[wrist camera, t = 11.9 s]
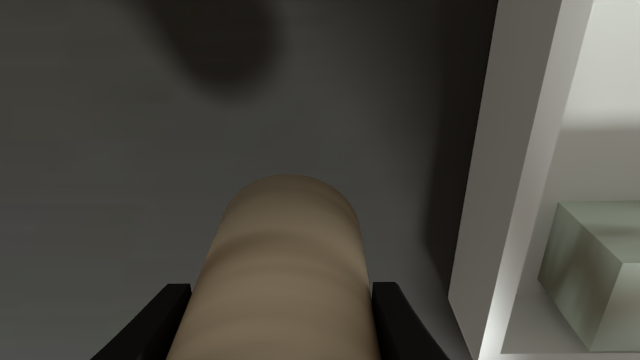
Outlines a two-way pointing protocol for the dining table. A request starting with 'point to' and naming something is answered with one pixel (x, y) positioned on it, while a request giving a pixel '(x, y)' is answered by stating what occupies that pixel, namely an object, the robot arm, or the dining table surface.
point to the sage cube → (596, 271)
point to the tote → (543, 165)
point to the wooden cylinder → (282, 280)
